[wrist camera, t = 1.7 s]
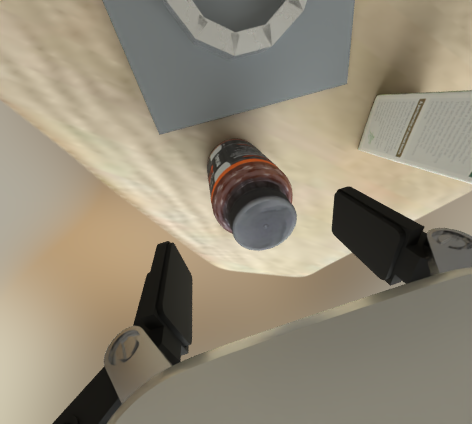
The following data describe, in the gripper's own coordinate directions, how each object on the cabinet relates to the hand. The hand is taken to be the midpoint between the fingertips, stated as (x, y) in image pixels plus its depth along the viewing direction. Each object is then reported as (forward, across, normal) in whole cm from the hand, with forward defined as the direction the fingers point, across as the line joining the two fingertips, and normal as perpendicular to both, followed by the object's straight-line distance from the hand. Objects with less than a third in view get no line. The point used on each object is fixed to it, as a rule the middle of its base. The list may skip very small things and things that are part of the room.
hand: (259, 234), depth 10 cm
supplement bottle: (+12, -1, 0) cm, 12 cm away
